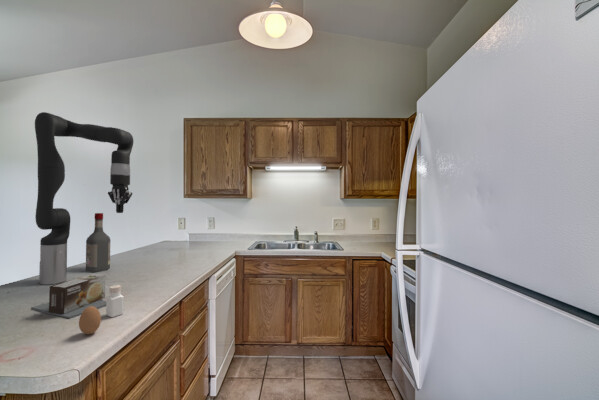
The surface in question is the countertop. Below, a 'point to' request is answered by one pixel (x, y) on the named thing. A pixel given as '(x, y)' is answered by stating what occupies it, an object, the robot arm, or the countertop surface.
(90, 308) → the egg
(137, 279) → the countertop surface
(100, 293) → the coffee box
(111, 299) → the salt shaker
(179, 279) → the countertop surface
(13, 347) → the countertop surface
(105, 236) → the liquor
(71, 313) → the mat
